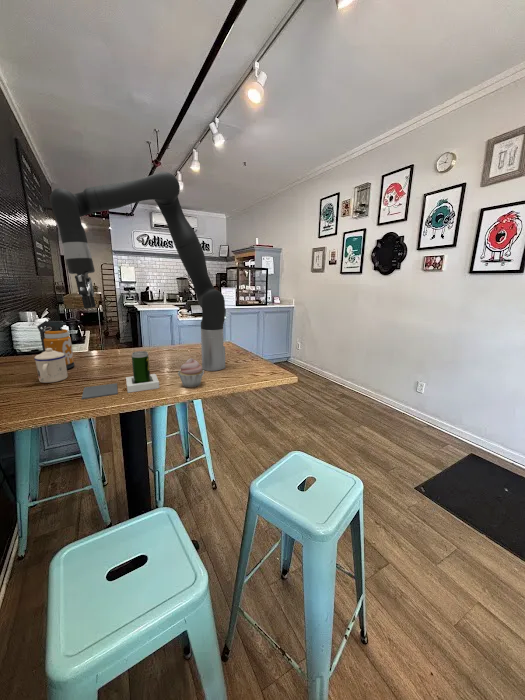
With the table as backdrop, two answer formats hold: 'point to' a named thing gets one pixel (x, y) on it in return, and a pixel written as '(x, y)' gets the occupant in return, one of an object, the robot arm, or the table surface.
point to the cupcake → (191, 373)
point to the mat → (99, 391)
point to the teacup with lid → (51, 366)
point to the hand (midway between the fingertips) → (90, 307)
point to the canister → (57, 340)
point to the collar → (142, 384)
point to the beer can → (140, 367)
